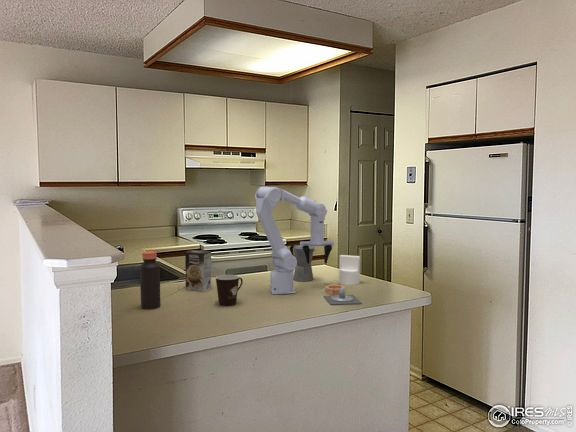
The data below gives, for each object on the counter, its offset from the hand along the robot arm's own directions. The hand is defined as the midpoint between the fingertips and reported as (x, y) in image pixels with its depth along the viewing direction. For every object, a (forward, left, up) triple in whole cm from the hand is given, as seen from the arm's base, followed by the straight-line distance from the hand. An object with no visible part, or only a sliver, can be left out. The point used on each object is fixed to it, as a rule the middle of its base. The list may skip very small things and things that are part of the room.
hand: (316, 262), depth 196 cm
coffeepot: (-4, +14, -10) cm, 18 cm away
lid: (+5, -23, -10) cm, 25 cm away
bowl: (+5, -12, -10) cm, 17 cm away
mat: (+5, -23, -10) cm, 26 cm away
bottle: (-66, -22, -10) cm, 70 cm away
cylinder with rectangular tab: (+16, +5, -10) cm, 20 cm away
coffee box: (-50, +2, -10) cm, 51 cm away
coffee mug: (-37, -21, -10) cm, 44 cm away
